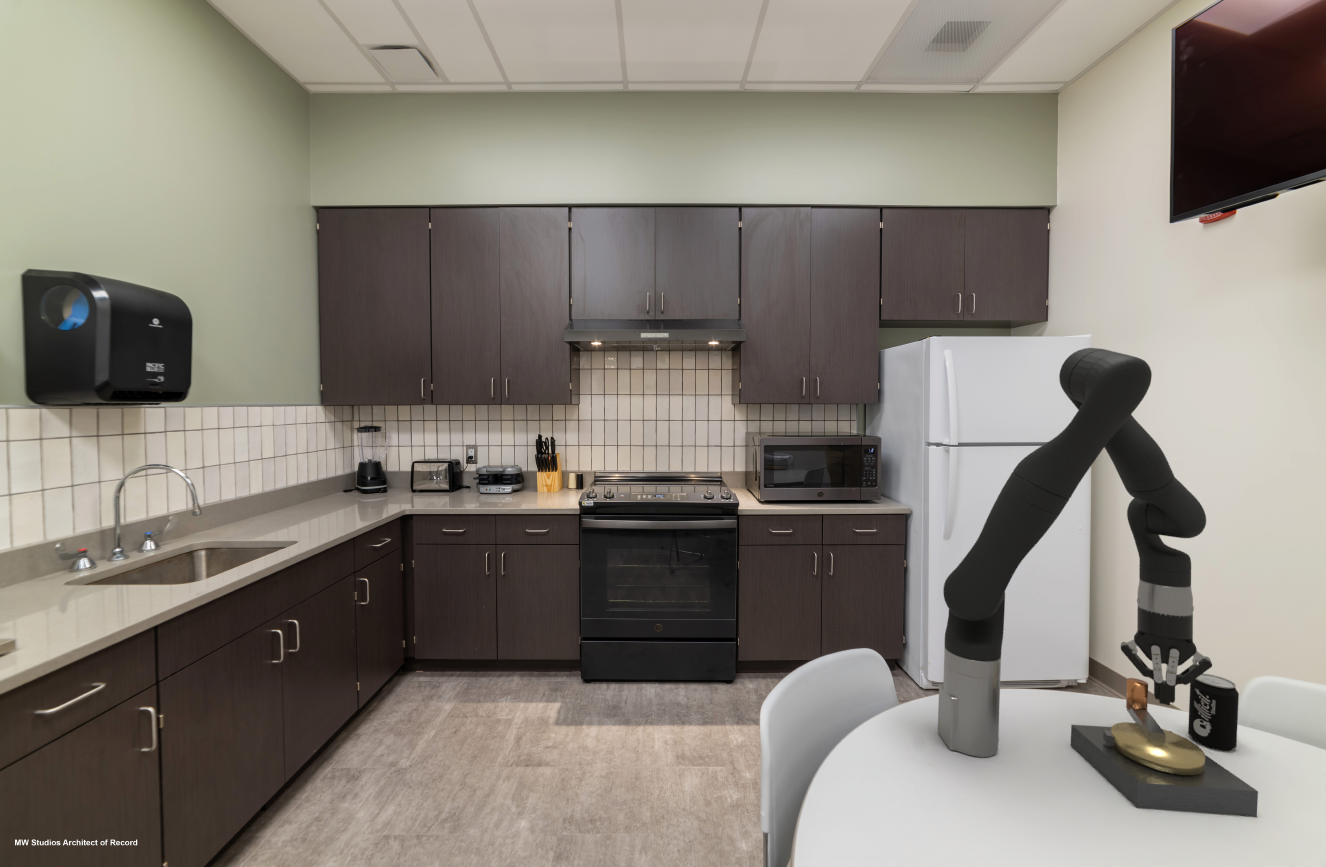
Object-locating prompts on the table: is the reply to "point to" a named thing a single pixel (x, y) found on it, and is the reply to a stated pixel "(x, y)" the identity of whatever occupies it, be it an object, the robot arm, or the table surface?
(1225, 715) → the beverage can
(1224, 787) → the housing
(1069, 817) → the table surface
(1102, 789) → the table surface
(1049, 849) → the table surface
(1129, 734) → the gold plate with handle
